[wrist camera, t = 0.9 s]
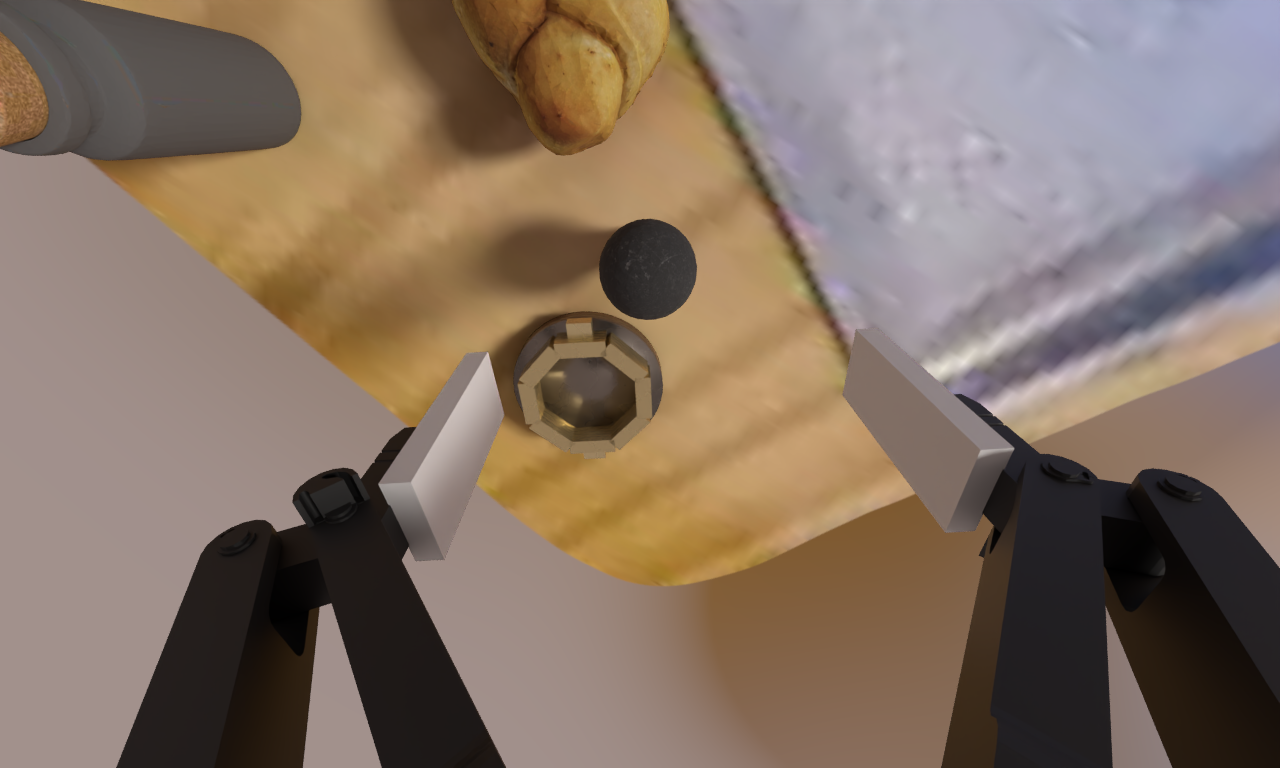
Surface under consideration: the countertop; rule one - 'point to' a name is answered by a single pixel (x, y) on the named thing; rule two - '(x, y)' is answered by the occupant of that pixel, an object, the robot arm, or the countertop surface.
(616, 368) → the octagonal rimmed dish
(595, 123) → the bread roll
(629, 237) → the light bulb
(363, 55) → the countertop surface
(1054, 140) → the countertop surface
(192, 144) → the bottle
